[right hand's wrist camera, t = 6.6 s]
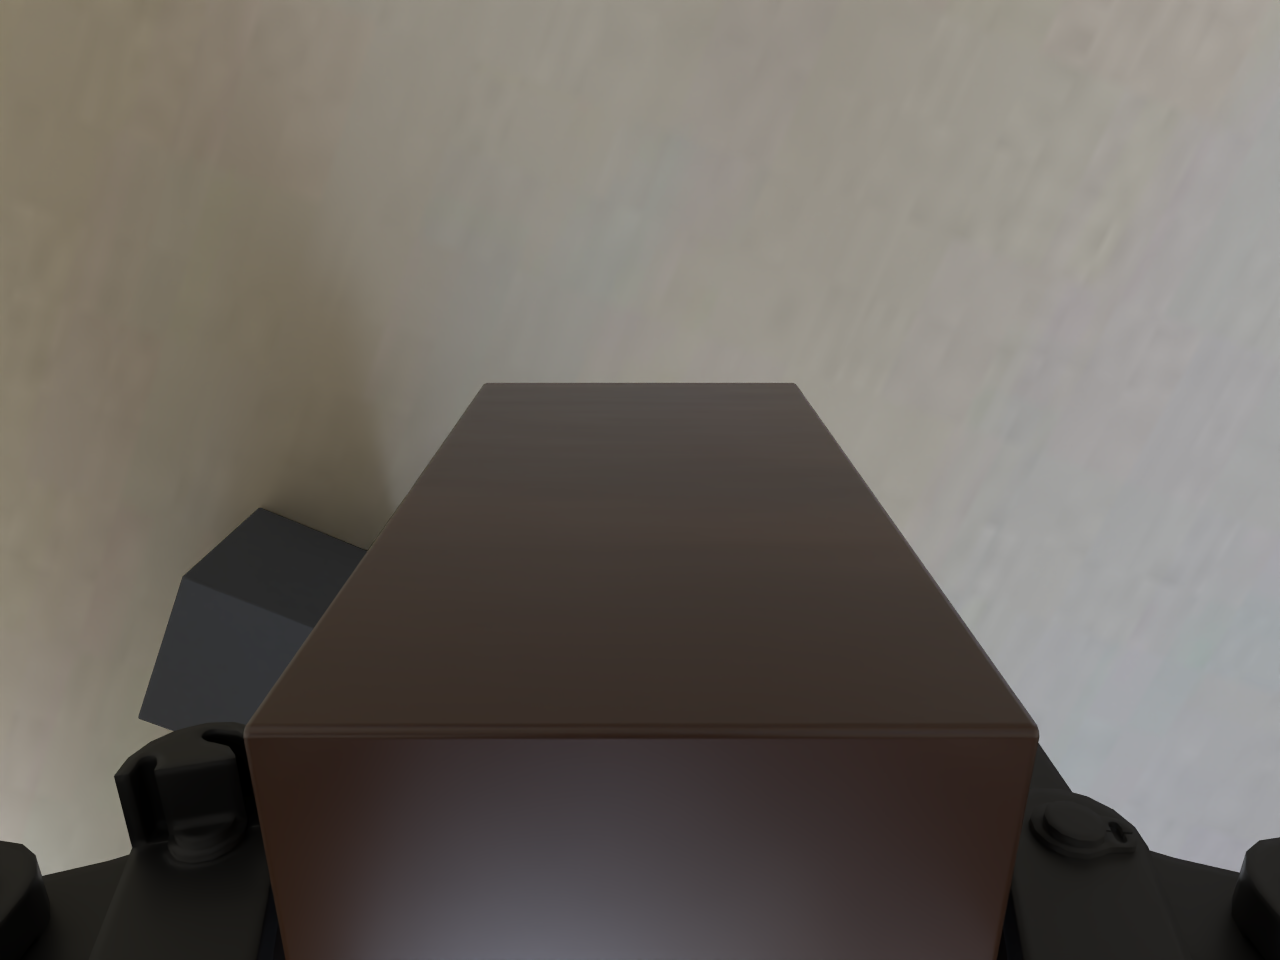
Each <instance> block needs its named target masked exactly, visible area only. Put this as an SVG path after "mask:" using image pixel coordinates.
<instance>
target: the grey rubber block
mask: <svg viewBox="0 0 1280 960" xmlns="http://www.w3.org/2000/svg"><path fill="white" fill-rule="evenodd" d="M366 553H367V551H366V550H363V549H361V548H358V547H356V546H353V545H351V544H348V543H346V542H343V541H341V540H338V539H336V538H333V537H331V536H329V535H326V534H324V533H321V532H319V531H316V530H314V529H311V528H309V527H306V526H304V525H301V524H299V523H296V522H294V521H291V520H289V519H287V518H284V517H282V516H279V515H277V514H274V513H272V512H269V511H267V510H264V509H262V508H258V509H257V510H256V511H255V512H254V513H253V514H252V515H251V516H250V517H248V518H247V519H246V520H245V521H244V522H243V523H242V524H241V525H240V526H238V527H237V528H236V529H235V530H234V531H233V532H232V533H231V534H230V535H228V536H227V537H226V538H225V539H224V540H223V541H222V542H221V543H220V544H218V545H217V546H216V547H215V548H214V549H213V550H212V551H211V552H210V553H208V554H207V555H206V556H205V557H204V558H203V559H202V560H201V561H200V562H198V563H197V564H196V565H195V566H194V567H193V568H192V569H191V570H190V571H188V572H187V573H186V574H185V575H184V576H183V577H182V581H181V584H180V587H179V590H178V593H177V596H176V599H175V603H174V606H173V609H172V612H171V615H170V618H169V622H168V625H167V628H166V631H165V634H164V637H163V641H162V644H161V647H160V650H159V653H158V656H157V660H156V663H155V666H154V669H153V672H152V675H151V679H150V682H149V685H148V688H147V691H146V694H145V698H144V701H143V704H142V707H141V710H140V713H139V719H142V720H144V721H147V722H150V723H153V724H156V725H158V726H161V727H164V728H167V729H169V730H172V731H176V730H178V729H183V728H187V727H191V726H195V725H199V724H203V723H211V722H237V723H241V724H245V725H246V724H247V723H248V722H249V720H250V719H251V717H252V716H253V714H254V713H255V712H256V710H257V709H258V707H259V706H260V704H261V703H262V702H263V700H264V699H265V697H266V696H267V694H268V693H269V691H270V690H271V689H272V687H273V686H274V684H275V683H276V681H277V680H278V679H279V677H280V676H281V674H282V673H283V671H284V670H285V669H286V667H287V666H288V664H289V663H290V661H291V660H292V659H293V657H294V656H295V654H296V653H297V651H298V650H299V649H300V647H301V646H302V644H303V643H304V641H305V640H306V638H307V637H308V636H309V634H310V633H311V631H312V630H313V628H314V627H315V626H316V624H317V623H318V621H319V620H320V618H321V617H322V616H323V614H324V613H325V611H326V610H327V608H328V607H329V606H330V604H331V603H332V601H333V600H334V598H335V597H336V596H337V594H338V593H339V591H340V590H341V588H342V587H343V585H344V584H345V583H346V581H347V580H348V578H349V577H350V575H351V574H352V573H353V571H354V570H355V568H356V567H357V565H358V564H359V563H360V561H361V560H362V558H363V557H364V555H365V554H366Z"/></svg>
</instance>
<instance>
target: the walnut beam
mask: <svg viewBox="0 0 1280 960" xmlns="http://www.w3.org/2000/svg"><path fill="white" fill-rule="evenodd" d="M243 738H244V743H245V749H246V754H247V759H248V764H249V770H250V775H251V780H252V785H253V791H254V796H255V801H256V807H257V812H258V817H259V822H260V828H261V833H262V838H263V843H264V849H265V854H266V859H267V865H268V870H269V875H270V880H271V886H272V891H273V896H274V901H275V907H276V912H277V917H278V923H279V928H280V933H281V938H282V944H283V949H284V954H285V960H997V956H998V950H999V945H1000V940H1001V935H1002V929H1003V924H1004V919H1005V914H1006V908H1007V903H1008V898H1009V893H1010V887H1011V882H1012V877H1013V872H1014V867H1015V861H1016V856H1017V851H1018V846H1019V840H1020V835H1021V830H1022V825H1023V819H1024V814H1025V809H1026V804H1027V798H1028V793H1029V788H1030V783H1031V778H1032V772H1033V767H1034V762H1035V757H1036V751H1037V746H1038V741H1039V730H1038V727H1037V724H1036V723H1035V722H1034V720H1033V719H1032V717H1031V716H1030V715H1029V713H1028V712H1027V710H1026V709H1025V708H1024V706H1023V705H1022V703H1021V702H1020V700H1019V699H1018V698H1017V696H1016V695H1015V693H1014V692H1013V691H1012V689H1011V688H1010V686H1009V685H1008V683H1007V682H1006V681H1005V679H1004V678H1003V676H1002V675H1001V674H1000V672H999V671H998V669H997V668H996V667H995V665H994V664H993V662H992V661H991V659H990V658H989V657H988V655H987V654H986V652H985V651H984V650H983V648H982V647H981V645H980V644H979V642H978V641H977V640H976V638H975V637H974V635H973V634H972V633H971V631H970V630H969V628H968V627H967V625H966V624H965V623H964V621H963V620H962V618H961V617H960V616H959V614H958V613H957V611H956V610H955V609H954V607H953V606H952V604H951V603H950V601H949V600H948V599H947V597H946V596H945V594H944V593H943V592H942V590H941V589H940V587H939V586H938V584H937V583H936V582H935V580H934V579H933V577H932V576H931V575H930V573H929V572H928V570H927V569H926V568H925V566H924V565H923V563H922V562H921V560H920V559H919V558H918V556H917V555H916V553H915V552H914V551H913V549H912V548H911V546H910V545H909V543H908V542H907V541H906V539H905V538H904V536H903V535H902V534H901V532H900V531H899V529H898V528H897V526H896V525H895V524H894V522H893V521H892V519H891V518H890V517H889V515H888V514H887V512H886V511H885V510H884V508H883V507H882V505H881V504H880V502H879V501H878V500H877V498H876V497H875V495H874V494H873V493H872V491H871V490H870V488H869V487H868V485H867V484H866V483H865V481H864V480H863V478H862V477H861V476H860V474H859V473H858V471H857V470H856V469H855V467H854V466H853V464H852V463H851V461H850V460H849V459H848V457H847V456H846V454H845V453H844V452H843V450H842V449H841V447H840V446H839V444H838V443H837V442H836V440H835V439H834V437H833V436H832V435H831V433H830V432H829V430H828V429H827V428H826V426H825V425H824V423H823V422H822V420H821V419H820V418H819V416H818V415H817V413H816V412H815V411H814V409H813V408H812V406H811V405H810V403H809V402H808V401H807V399H806V398H805V396H804V395H803V394H802V392H801V391H800V389H799V388H798V386H797V385H796V384H794V383H486V384H484V385H483V386H482V388H481V389H480V391H479V392H478V394H477V395H476V396H475V398H474V399H473V401H472V402H471V404H470V405H469V406H468V408H467V409H466V411H465V412H464V414H463V415H462V416H461V418H460V419H459V421H458V422H457V424H456V425H455V426H454V428H453V429H452V431H451V432H450V434H449V435H448V436H447V438H446V439H445V441H444V442H443V444H442V445H441V447H440V448H439V449H438V451H437V452H436V454H435V455H434V457H433V458H432V459H431V461H430V462H429V464H428V465H427V467H426V468H425V469H424V471H423V472H422V474H421V475H420V477H419V478H418V479H417V481H416V482H415V484H414V485H413V487H412V488H411V490H410V491H409V492H408V494H407V495H406V497H405V498H404V500H403V501H402V502H401V504H400V505H399V507H398V508H397V510H396V511H395V512H394V514H393V515H392V517H391V518H390V520H389V521H388V522H387V524H386V525H385V527H384V528H383V530H382V531H381V532H380V534H379V535H378V537H377V538H376V540H375V541H374V543H373V544H372V545H371V547H370V548H369V550H368V551H367V553H366V554H365V555H364V557H363V558H362V560H361V561H360V563H359V564H358V565H357V567H356V568H355V570H354V571H353V573H352V574H351V575H350V577H349V578H348V580H347V581H346V583H345V584H344V585H343V587H342V588H341V590H340V591H339V593H338V594H337V596H336V597H335V598H334V600H333V601H332V603H331V604H330V606H329V607H328V608H327V610H326V611H325V613H324V614H323V616H322V617H321V618H320V620H319V621H318V623H317V624H316V626H315V627H314V628H313V630H312V631H311V633H310V634H309V636H308V637H307V638H306V640H305V641H304V643H303V644H302V646H301V647H300V649H299V650H298V651H297V653H296V654H295V656H294V657H293V659H292V660H291V661H290V663H289V664H288V666H287V667H286V669H285V670H284V671H283V673H282V674H281V676H280V677H279V679H278V680H277V681H276V683H275V684H274V686H273V687H272V689H271V690H270V691H269V693H268V694H267V696H266V697H265V699H264V700H263V702H262V703H261V704H260V706H259V707H258V709H257V710H256V712H255V713H254V714H253V716H252V717H251V719H250V720H249V722H248V723H247V724H246V726H245V729H244V735H243Z"/></svg>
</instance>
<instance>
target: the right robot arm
mask: <svg viewBox="0 0 1280 960" xmlns="http://www.w3.org/2000/svg"><path fill="white" fill-rule="evenodd" d="M245 726H246V725H245V724H241V723H237V722H211V723H203V724H199V725H195V726H191V727H187V728H183V729H178V730H176V731H174V732H172V733H169V734H167V735H165V736H163V737H160V738H158V739H156V740H154V741H151V742H150V743H148V744H147V745H146V746H144V747H143V748H141V749H140V750H139V751H137V752H136V753H134V754H133V755H132V756H130V757H129V758H128V759H127V760H126V761H125V763H124V764H123V765H122V766H121V768H120V769H119V770H118V772H117V773H116V774H115V776H114V778H115V782H116V786H117V790H118V794H119V798H120V802H121V805H122V809H123V813H124V817H125V821H126V825H127V829H128V833H129V837H130V841H131V845H132V850H131V852H130V855H126V856H123V857H120V858H116V859H113V860H110V861H106V862H102V863H97V864H93V865H88V866H84V867H80V868H75V869H71V870H67V871H62V872H58V873H53V874H49V875H45V876H42V875H41V872H40V868H39V865H38V862H37V859H36V855H35V854H33V853H32V852H31V851H30V850H29V849H28V848H26V847H25V846H24V845H23V844H18V843H12V842H5V841H0V960H285V954H284V949H283V944H282V938H281V933H280V928H279V923H278V917H277V912H276V907H275V901H274V896H273V891H272V886H271V880H270V875H269V870H268V865H267V859H266V854H265V849H264V843H263V838H262V833H261V828H260V822H259V817H258V812H257V807H256V801H255V796H254V791H253V785H252V780H251V775H250V770H249V764H248V759H247V754H246V749H245V743H244V738H243V735H244V729H245ZM997 960H1280V837H1279V838H1273V839H1266V840H1260V841H1258V842H1257V843H1256V844H1255V845H1254V846H1252V847H1251V848H1250V849H1249V850H1248V851H1246V854H1245V858H1244V861H1243V864H1242V867H1241V871H1240V873H1239V872H1234V871H1230V870H1225V869H1221V868H1217V867H1212V866H1208V865H1203V864H1199V863H1195V862H1190V861H1186V860H1181V859H1177V858H1173V857H1170V856H1166V855H1163V854H1160V853H1156V852H1153V851H1150V850H1149V848H1148V846H1147V845H1146V843H1145V842H1144V840H1143V839H1142V837H1141V836H1140V834H1139V833H1138V831H1137V830H1136V828H1135V827H1134V826H1133V825H1132V824H1130V823H1129V822H1128V821H1127V820H1126V819H1124V818H1123V817H1122V816H1121V815H1119V814H1118V813H1117V812H1116V811H1114V810H1113V809H1111V808H1109V807H1107V806H1105V805H1103V804H1101V803H1099V802H1097V801H1095V800H1093V799H1091V798H1089V797H1087V796H1084V795H1080V794H1076V793H1073V792H1072V791H1071V790H1070V788H1069V787H1068V785H1067V784H1066V782H1065V781H1064V780H1063V778H1062V777H1061V775H1060V774H1059V772H1058V771H1057V769H1056V768H1055V766H1054V765H1053V763H1052V762H1051V761H1050V759H1049V758H1048V756H1047V755H1046V753H1045V752H1044V750H1043V749H1042V747H1041V746H1040V745H1039V743H1038V746H1037V751H1036V757H1035V762H1034V767H1033V772H1032V778H1031V783H1030V788H1029V793H1028V798H1027V804H1026V809H1025V814H1024V819H1023V825H1022V830H1021V835H1020V840H1019V846H1018V851H1017V856H1016V861H1015V867H1014V872H1013V877H1012V882H1011V887H1010V893H1009V898H1008V903H1007V908H1006V914H1005V919H1004V924H1003V929H1002V935H1001V940H1000V945H999V950H998V956H997Z"/></svg>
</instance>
